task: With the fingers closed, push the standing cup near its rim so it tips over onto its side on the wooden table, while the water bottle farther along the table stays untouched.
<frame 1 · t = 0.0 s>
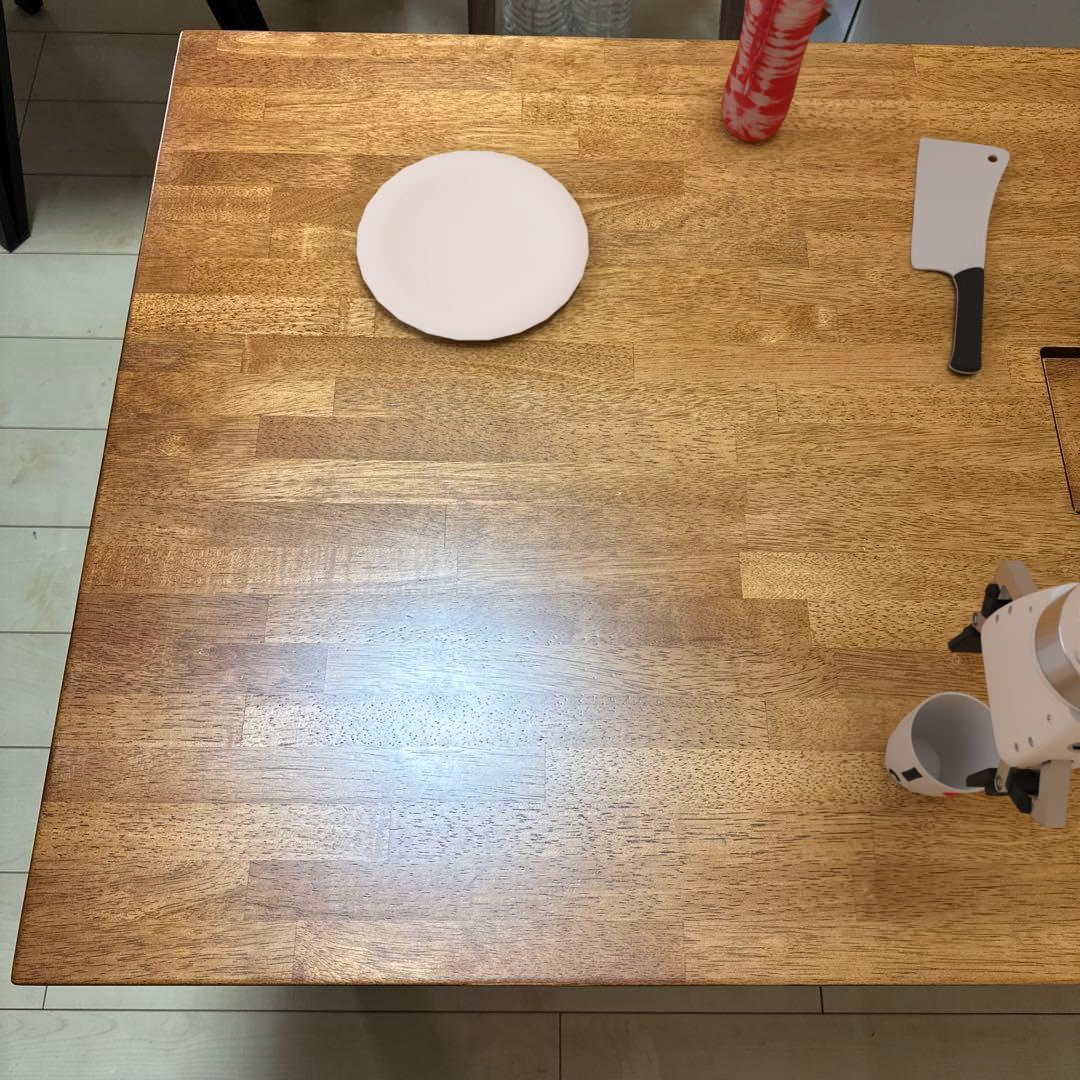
hand: (977, 713, 72), 20 cm above the table, tool pointing down, fingers open, 9 cm apart
plate: (473, 251, 111), on the table
cup: (912, 762, 92), on the table
kitchen cleaver: (951, 255, 113), on the table
water bottle: (755, 117, 119), on the table
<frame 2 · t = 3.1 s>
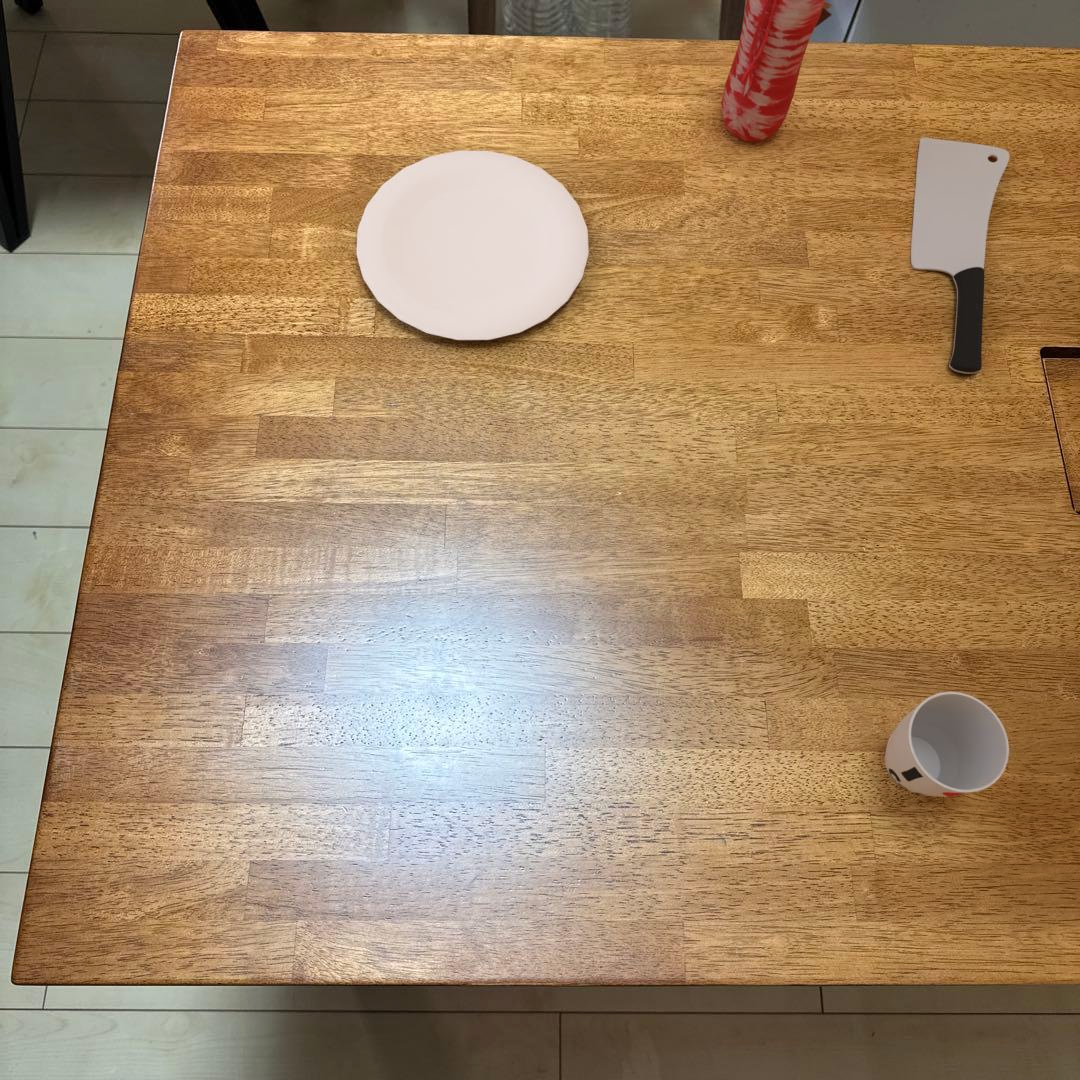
nothing on the table moved.
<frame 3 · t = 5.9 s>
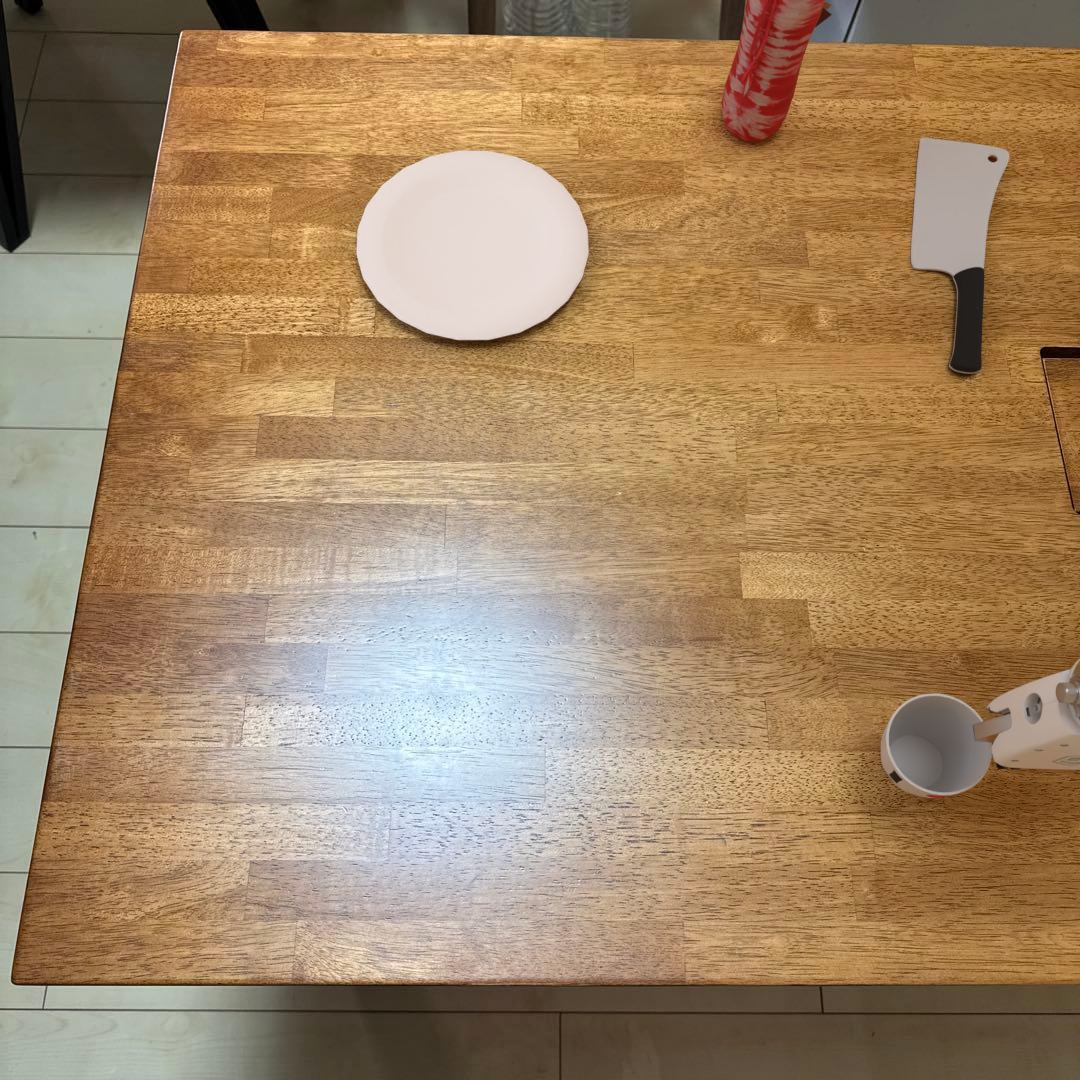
hand: (1003, 750, 83), 9 cm above the table, tool pointing down, fingers closed
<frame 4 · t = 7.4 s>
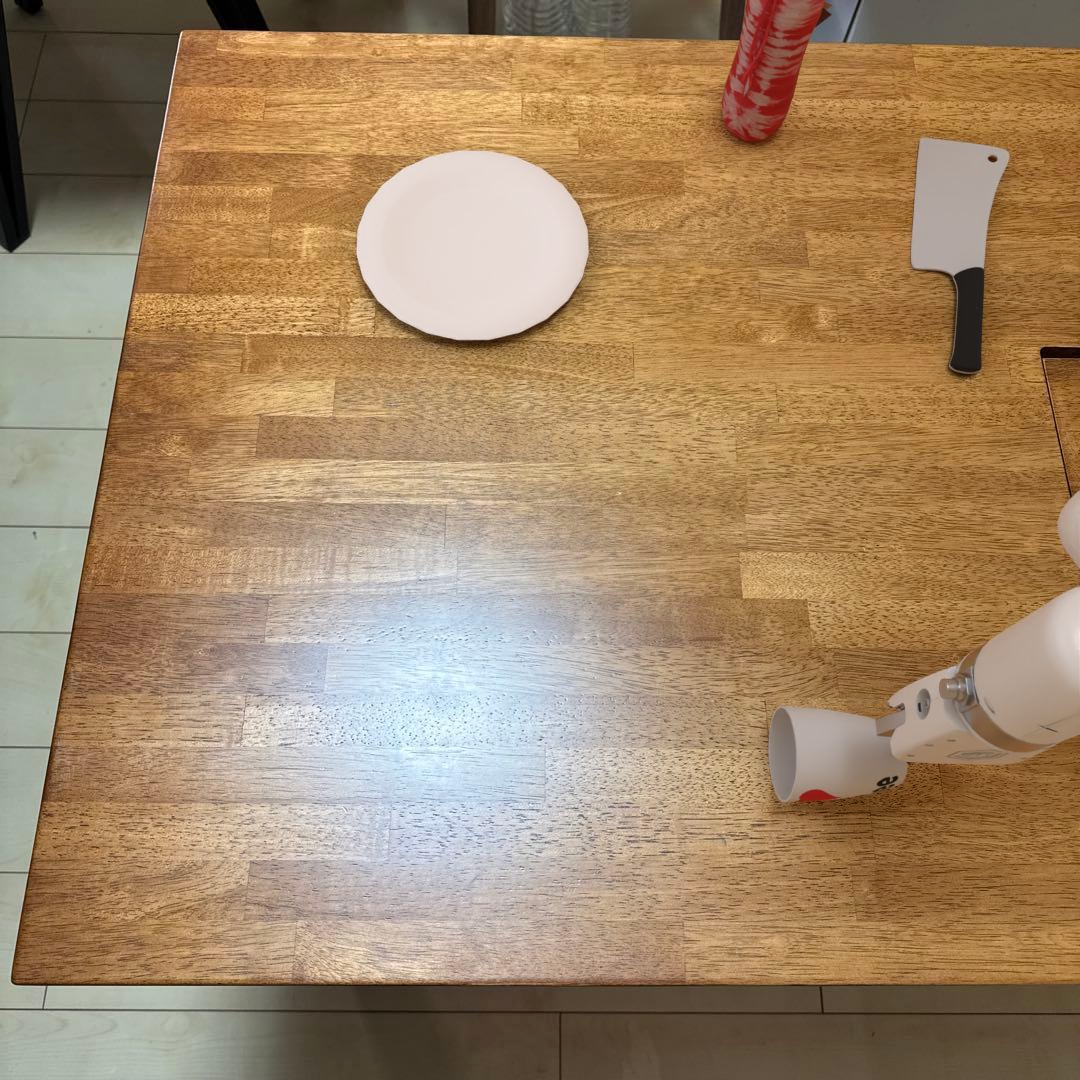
hand: (913, 744, 84), 8 cm above the table, tool pointing down, fingers closed
cup: (897, 754, 88), point 4 cm above the table
everything else where it was.
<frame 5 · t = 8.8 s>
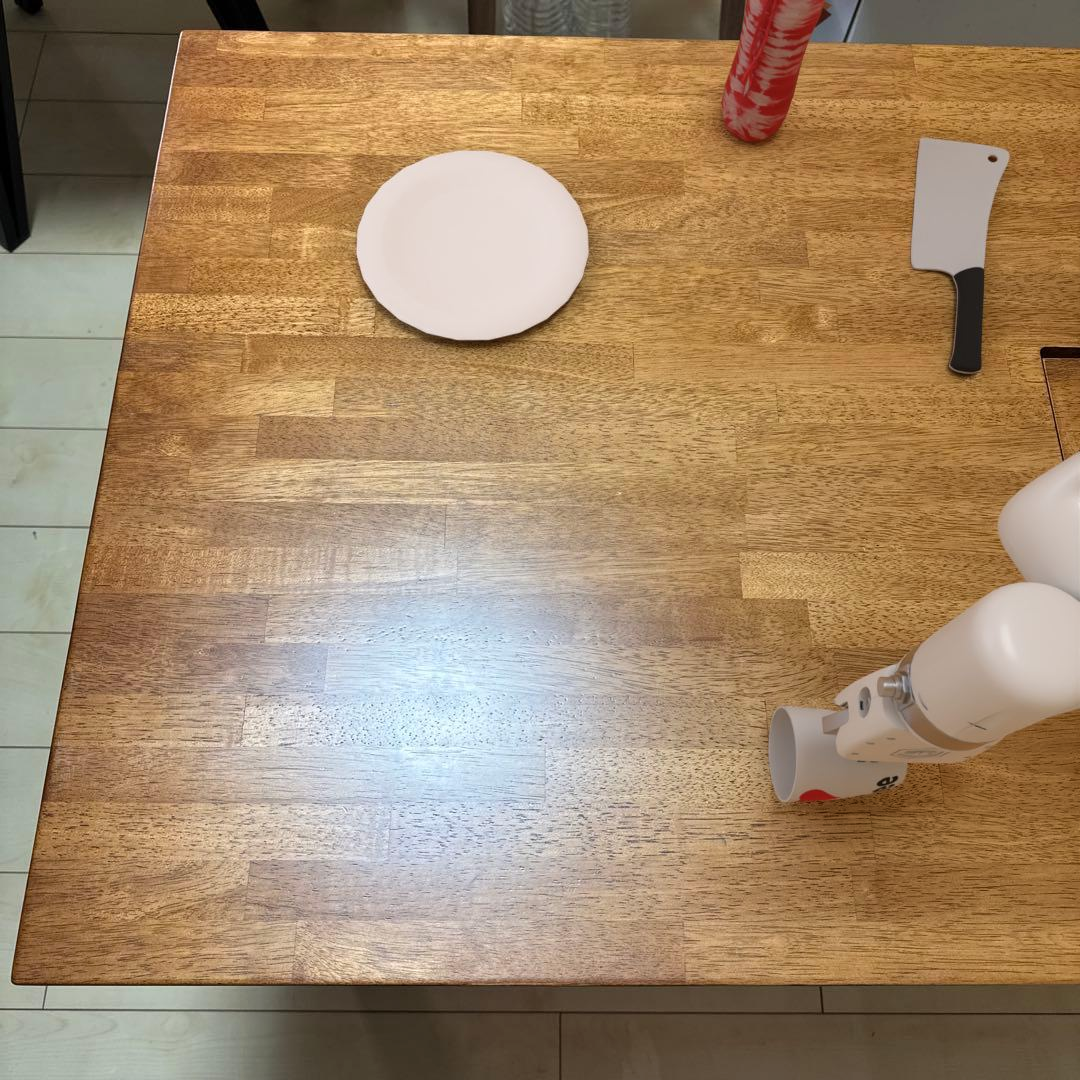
hand: (864, 743, 84), 8 cm above the table, tool pointing down, fingers closed
nothing on the table moved.
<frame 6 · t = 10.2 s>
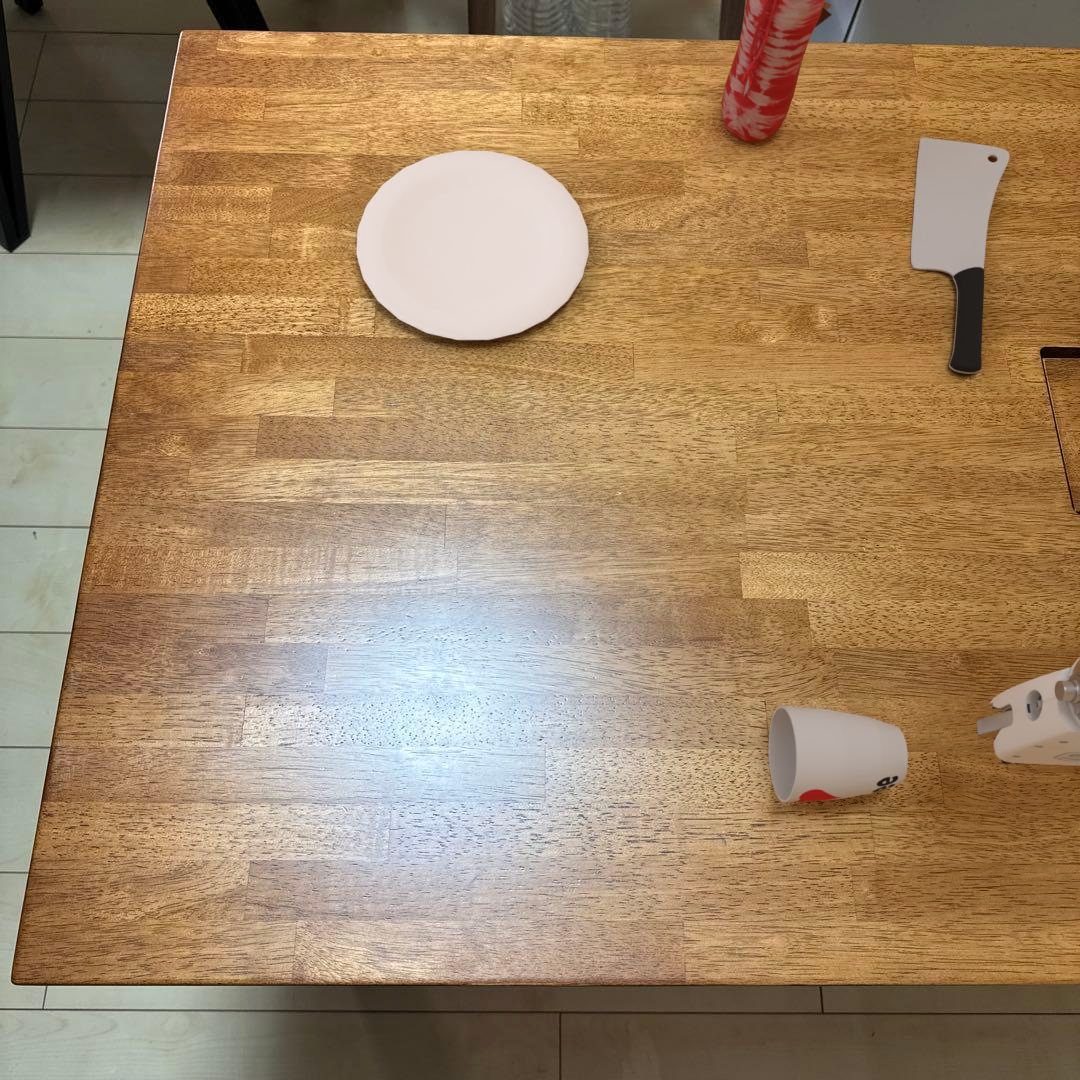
hand: (1008, 745, 84), 8 cm above the table, tool pointing down, fingers closed
nothing on the table moved.
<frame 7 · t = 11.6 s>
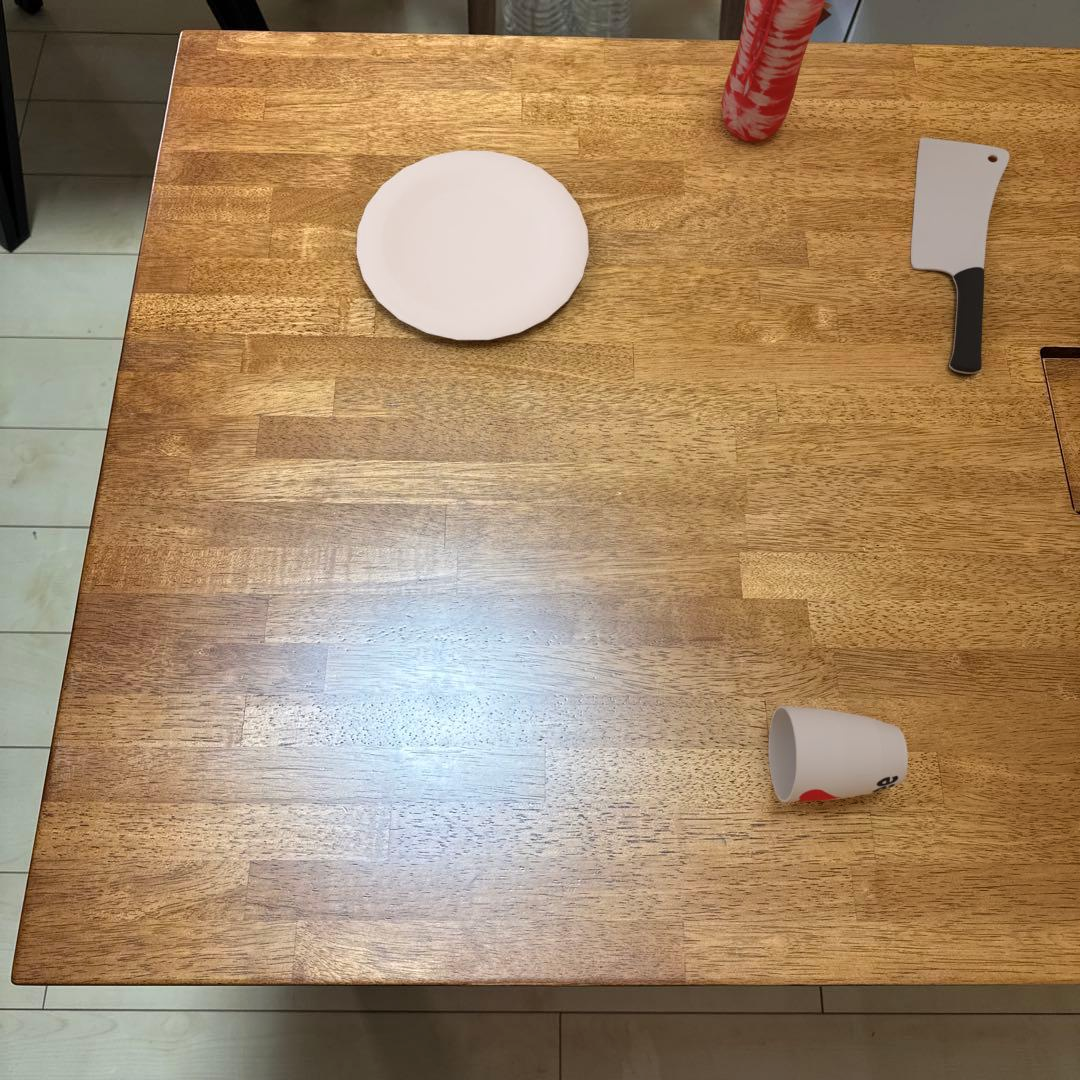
nothing on the table moved.
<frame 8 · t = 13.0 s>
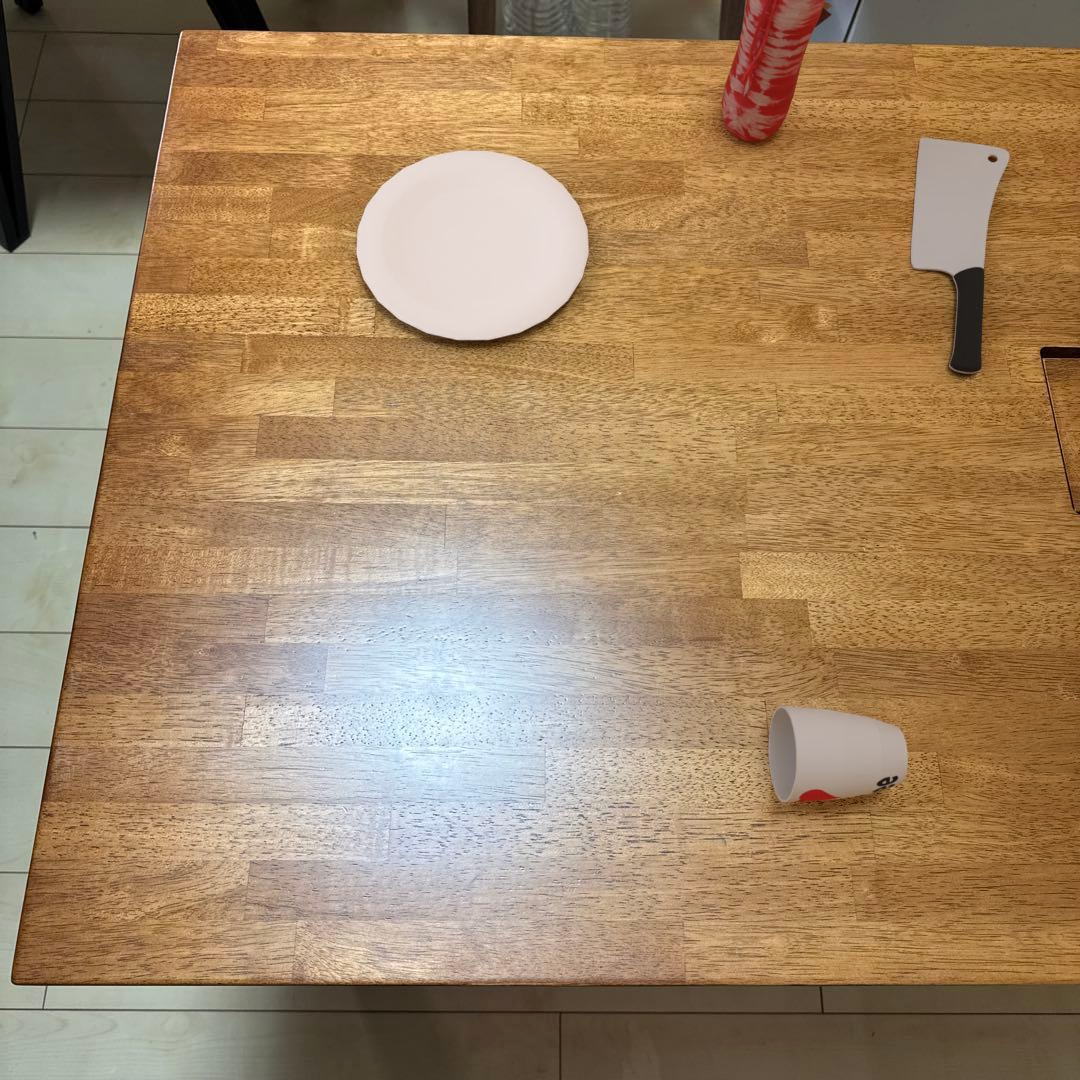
nothing on the table moved.
at the end: cup tilted 88°; cup inside the target area (5.3 cm from its centre), point 3.7 cm above the table; water bottle moved 0.2 cm from its start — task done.
